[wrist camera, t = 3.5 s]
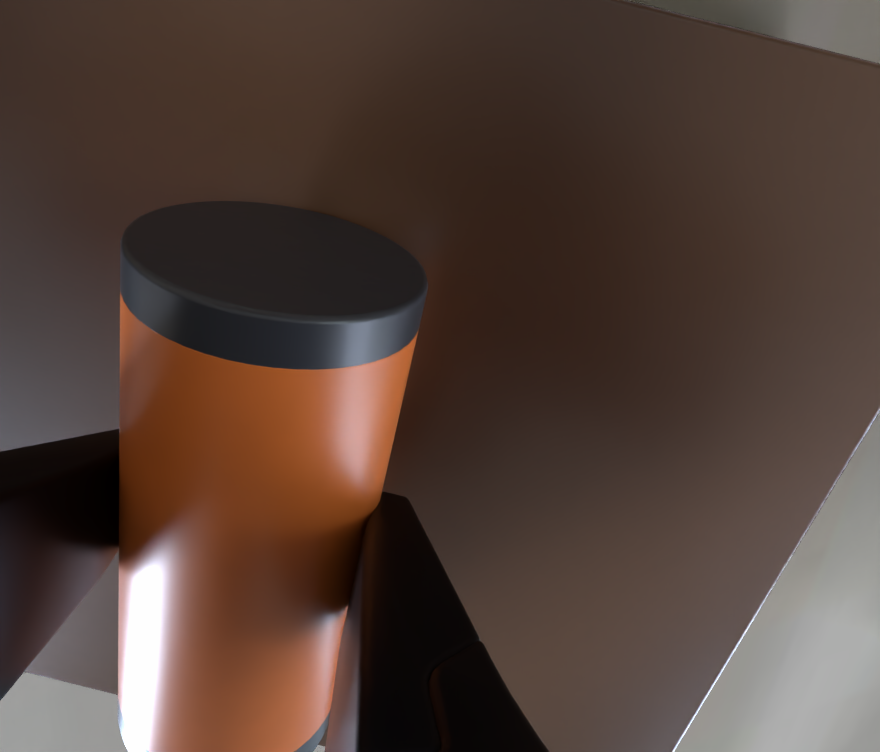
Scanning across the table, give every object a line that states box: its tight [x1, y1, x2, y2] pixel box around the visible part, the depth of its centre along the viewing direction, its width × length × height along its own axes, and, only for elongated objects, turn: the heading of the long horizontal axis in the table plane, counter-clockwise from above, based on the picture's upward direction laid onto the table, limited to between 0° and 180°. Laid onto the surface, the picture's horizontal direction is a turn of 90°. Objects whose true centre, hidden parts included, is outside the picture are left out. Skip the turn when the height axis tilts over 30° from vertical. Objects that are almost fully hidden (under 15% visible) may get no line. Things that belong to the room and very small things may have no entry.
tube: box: [118, 201, 428, 752], centre depth 9 cm, size 7×3×3 cm, turn 168°
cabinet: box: [0, 0, 880, 752], centre depth 15 cm, size 13×14×10 cm
